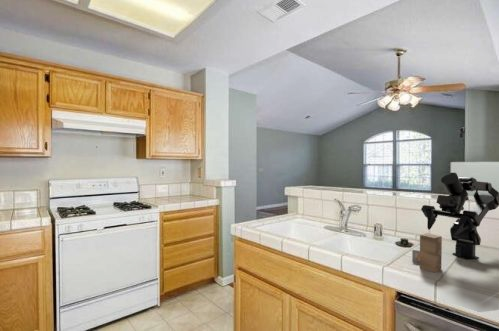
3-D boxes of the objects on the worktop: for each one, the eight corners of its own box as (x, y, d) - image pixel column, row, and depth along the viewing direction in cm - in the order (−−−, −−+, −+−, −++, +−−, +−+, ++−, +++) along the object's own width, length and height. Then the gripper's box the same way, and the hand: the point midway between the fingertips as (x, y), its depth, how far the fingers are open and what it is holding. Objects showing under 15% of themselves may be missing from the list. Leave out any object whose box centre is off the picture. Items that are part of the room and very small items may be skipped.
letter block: (413, 257, 112) (413, 246, 112) (426, 259, 109) (426, 248, 109) (412, 261, 108) (412, 249, 108) (425, 263, 105) (425, 252, 105)
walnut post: (426, 265, 103) (427, 233, 103) (441, 269, 99) (441, 236, 99) (419, 267, 101) (420, 234, 101) (434, 272, 96) (434, 238, 96)
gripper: (423, 186, 114) (408, 214, 108) (477, 190, 97) (462, 223, 92) (433, 203, 118) (419, 231, 112) (486, 209, 101) (473, 242, 96)
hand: (441, 231), depth 103 cm, fingers open, 9 cm apart
